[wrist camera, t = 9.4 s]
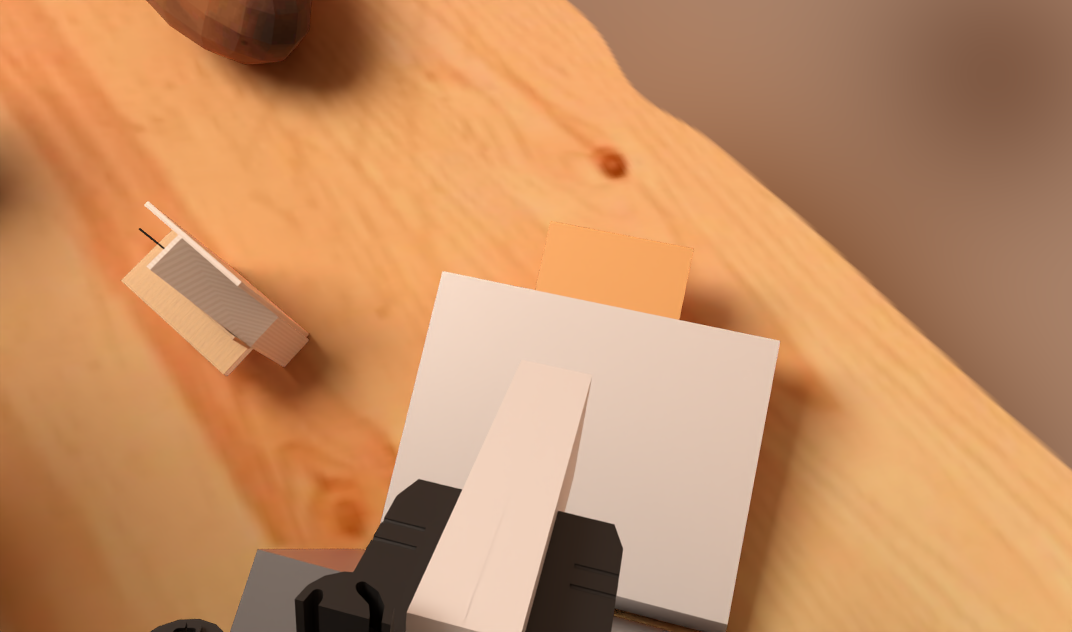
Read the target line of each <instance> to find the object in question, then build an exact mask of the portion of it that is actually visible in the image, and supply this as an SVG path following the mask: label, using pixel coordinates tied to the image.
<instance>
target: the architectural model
mask: <svg viewBox="0 0 1072 632" xmlns="http://www.w3.org/2000/svg"><path fill="white" fill-rule="evenodd" d="M144 206H146V207H147V208H148V209H149V210H150V211H151V212H153V213H154V214H155V215H156V216H157V217H158V218H159V219H161V220H162V221H163V222H164V223H165V224H166V225H168V226H169V227H170V228H171V229H172V230H171V231H170V232H169V233H168V234H167V235H166V236H165V237H164V238H163V239H162V240H161V241H160V242H159V243H158V242H157V241H156V240H154V239H153V238H152V237H151V236H149V235H148V234H147V233H146V232H144V231H143V230H142V229H141V228H140V229H139V230H140V231H141V232H143V233H144V234H145V235H146V236H148V237H149V238H150V239H151V240H153V241H154V242H155V243H156V244H157V245H156V246H155V247H154V248H153V249H152V250H151V251H150V252H149V253H148V254H147V255H146V256H145V257H144V258H143V259H142V260H141V261H140V262H139V263H138V264H137V265H136V266H135V267H134V268H133V269H132V270H131V271H130V272H129V273H128V274H127V275H126V276H125V277H124V278H123V279H122V280H121V281H122V282H123V283H124V284H125V285H126V286H127V287H129V288H130V289H131V290H132V291H133V292H134V293H135V294H136V295H137V296H138V297H139V298H141V299H142V300H143V301H144V302H145V303H146V304H147V305H148V306H149V307H150V308H151V309H153V310H154V311H155V312H156V313H157V314H158V315H159V316H160V317H161V318H162V319H163V320H165V321H166V322H167V323H168V324H169V325H170V326H171V327H172V328H173V329H174V330H175V331H177V332H178V333H179V334H180V335H181V336H182V337H183V338H184V339H185V340H186V341H187V342H189V343H190V344H191V345H192V346H193V347H194V348H195V349H196V350H197V351H198V352H199V353H201V354H202V355H203V356H204V357H205V358H206V359H207V360H208V361H209V362H210V363H211V364H213V365H214V366H215V367H216V368H217V369H218V370H219V371H220V372H221V373H222V374H224V375H226V376H228V375H229V374H230V373H231V372H232V371H233V370H234V369H235V368H236V367H237V366H238V365H239V364H240V363H241V362H242V360H243V359H244V358H245V357H246V356H247V355H248V354H249V353H250V352H251V351H252V350H253V349H254V350H256V351H257V352H259V353H261V354H262V355H264V356H266V357H267V358H269V359H271V360H272V361H274V362H276V363H278V364H279V365H281V366H283V367H285V366H286V365H287V364H288V363H289V362H290V361H291V360H292V359H293V357H294V356H295V355H296V354H297V353H298V352H299V351H300V350H301V349H302V348H303V347H304V345H305V344H306V343H307V342H308V341H309V340H308V339H307V338H306V337H307V336H308V335H309V333H308V332H307V331H305V330H304V329H303V328H302V327H301V326H300V325H298V324H297V323H296V322H295V321H294V320H293V319H291V318H290V317H289V316H288V315H287V314H286V313H284V312H283V311H282V310H281V309H280V308H279V307H277V306H276V305H275V304H274V303H273V302H272V301H270V300H269V299H268V298H267V297H266V296H265V295H263V294H262V293H261V292H260V291H259V290H258V289H256V288H255V287H254V286H253V285H252V284H251V283H249V282H248V281H247V280H246V279H245V278H244V277H243V276H241V275H240V274H239V273H238V272H237V271H236V270H234V269H233V268H232V267H231V266H230V265H228V264H227V263H226V262H225V261H223V260H222V259H221V258H219V257H218V256H217V255H216V254H214V253H213V252H212V251H211V250H209V249H208V248H207V247H206V246H204V245H203V244H202V243H200V242H199V241H198V240H197V239H195V238H194V237H193V236H192V235H190V234H189V233H188V232H187V231H185V230H184V229H183V228H181V227H180V226H179V225H178V224H176V223H175V222H174V221H173V220H171V219H170V218H169V217H167V216H166V215H165V214H164V213H162V212H161V211H160V210H159V209H157V208H156V207H155V206H154V205H152V204H151V203H150V202H147V203H146V204H145V205H144ZM283 320H284V321H283ZM287 323H288V324H287ZM291 326H292V327H291ZM295 329H296V330H295ZM299 332H300V333H299Z"/></svg>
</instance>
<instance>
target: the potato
mask: <svg viewBox="0 0 1072 632" xmlns="http://www.w3.org/2000/svg"><path fill="white" fill-rule="evenodd" d="M147 1H148V3H149V4H150V5H151V6H152V7H153V8H154V9H155V10H156V11H157V12H158V13H159V14H160V15H161V17H162V18H163V19H164V20H165V21H166V22H167V23H168V24H169V25H170V26H171V27H173V28H174V29H176V30H177V31H179V32H180V33H182V34H183V35H185V36H186V37H188V38H189V39H191V40H192V41H194V42H195V43H197V44H198V45H200V46H201V47H203V48H204V49H206V50H209V51H211V52H213V53H216V54H218V55H221V56H224V57H226V58H229V59H232V60H234V61H237V62H240V63H242V64H262V63H271V62H279V61H284V60H285V58H286V57H287V56H288V55H289V54H290V53H291V52H292V51H293V50H294V49H295V48H296V47H297V45H298V44H299V43H300V42H301V40H302V39H303V38H304V36H305V35H306V34H307V33H308V31H309V27H310V14H311V1H312V0H147Z"/></svg>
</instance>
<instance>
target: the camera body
mask: <svg viewBox="0 0 1072 632" xmlns="http://www.w3.org/2000/svg"><path fill="white" fill-rule="evenodd" d="M364 552H365V550H363V549H258V550H257V553H256V556H255V559H254V562H253V565H252V568H251V571H250V574H249V577H248V580H247V583H246V586H245V589H244V592H243V595H242V598H241V601H240V604H239V607H238V610H237V613H236V616H235V619H234V622H233V625H232V628H231V631H230V632H296V616H295V600H294V599H295V598H296V597H297V596H298V595H299V594H300V593H301V591H302V590H303V589H304V588H305V587H306V586H307V585H308V584H310V583H312V582H314V581H316V580H318V579H319V578H321V577H323V576H325V575H330V574H334V573H339V572H344V571H345V572H353V571H354V570H355V568H356V566H357V564H358V563H359V561H360V559H361V557H362V556H363V554H364ZM611 632H673V631H669V630H665V629H661V628H658V627H654V626H650V625H646V624H642V623H639V622H635V621H631V620H627V619H624V618H620V617H616V616H613V623H612V630H611Z"/></svg>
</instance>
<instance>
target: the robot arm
mask: <svg viewBox="0 0 1072 632" xmlns="http://www.w3.org/2000/svg"><path fill="white" fill-rule="evenodd" d="M591 380H592V374H587V373H582V372H578V371H573V370H568V369H564V368H559V367H554V366H550V365H545V364H541V363H536V362H531V361H527V360H521V362H520V364H519V366H518V369H517V371H516V373H515V375H514V377H513V380H512V382H511V384H510V386H509V388H508V391H507V393H506V395H505V397H504V399H503V402H502V404H501V406H500V408H499V410H498V413H497V415H496V417H495V419H494V421H493V423H492V426H491V428H490V430H489V432H488V434H487V437H486V439H485V441H484V443H483V445H482V448H481V450H480V452H479V454H478V456H477V459H476V461H475V463H474V465H473V467H472V470H471V472H470V474H469V476H468V478H467V481H466V483H465V485H464V487H463V489H459V488H454V487H450V486H446V485H442V484H438V483H434V482H430V481H425V480H421V479H418V480H417V481H415V482H414V483H413V484H411V485H410V486H409V487H407V488H406V489H405V490H403V491H402V492H401V493H399V494H398V495H397V496H396V498H395V499H394V501H393V503H392V505H391V506H390V508H389V510H388V512H387V513H386V515H385V517H384V521H383V522H381V524H380V526H379V528H378V529H377V531H376V533H375V535H374V538H373V540H371V542H370V543H369V545H368V547H367V549H366V550H365V552H364V554H363V556H362V557H361V559H360V561H359V563H358V564H357V566H356V568H355V570H354V571H353V572H345V571H344V572H339V573H334V574H330V575H325V576H323V577H321V578H319V579H318V580H316V581H314V582H312V583H310V584H308V585H307V586H306V587H305V588H304V589H303V590H302V591H301V593H300V594H299V595H298V596H297V597H296V598H295V599H294V600H295V616H296V632H611V630H612V623H613V616H614V609H615V603H616V596H617V589H618V582H619V575H620V568H621V561H622V554H623V547H622V544H621V541H620V538H619V536H618V533H617V530H616V527H615V524H611V523H607V522H603V521H599V520H595V519H591V518H586V517H582V516H578V515H574V514H570V513H566V512H565V509H566V505H567V501H568V497H569V493H570V489H571V486H572V482H573V478H574V473H575V467H576V462H577V456H578V451H579V445H580V440H581V434H582V429H583V424H584V418H585V413H586V407H587V402H588V396H589V391H590V385H591ZM151 632H223V631H222V630H221V629H220V628H219V627H218V626H217V625H216V624H213V623H210V622H207V621H204V620H201V619H186V620H177V621H174V622H171V623H168V624H165V625H162V626H159V627H157V628H155V629H154V630H152V631H151Z"/></svg>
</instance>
